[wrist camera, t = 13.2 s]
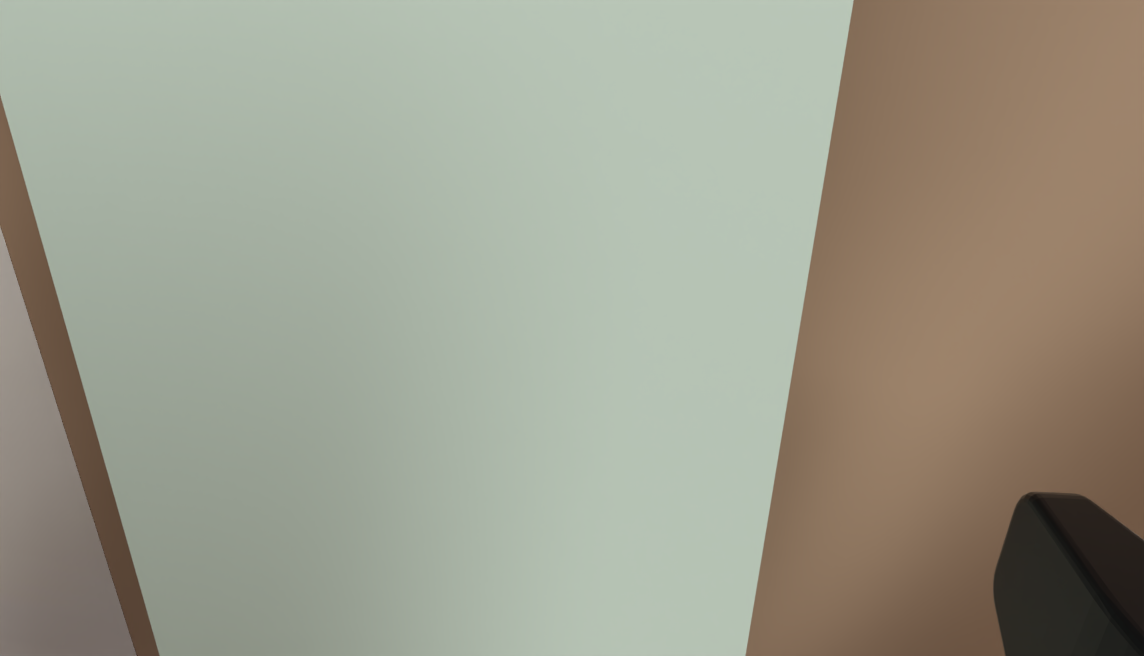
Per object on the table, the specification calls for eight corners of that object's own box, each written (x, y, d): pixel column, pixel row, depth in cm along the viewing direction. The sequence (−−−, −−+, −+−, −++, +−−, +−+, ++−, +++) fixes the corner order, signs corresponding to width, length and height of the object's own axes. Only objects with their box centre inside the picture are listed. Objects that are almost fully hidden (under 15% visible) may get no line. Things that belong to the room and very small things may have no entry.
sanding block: (384, 620, 15) (271, 1049, 10) (274, -395, 8) (-166, -483, 4) (662, 635, 15) (675, 1077, 10) (765, -383, 8) (927, -459, 4)
